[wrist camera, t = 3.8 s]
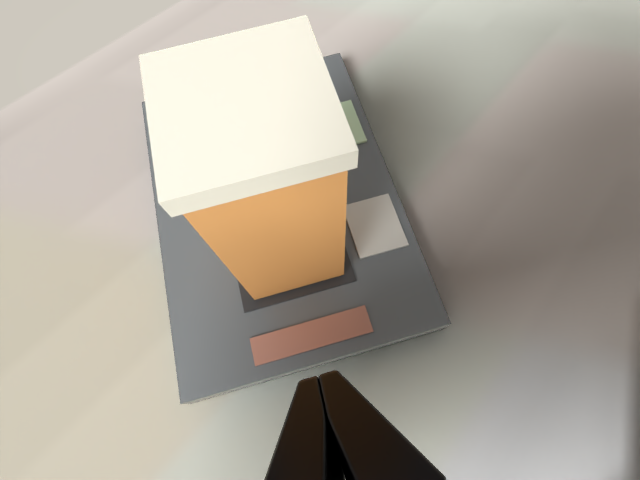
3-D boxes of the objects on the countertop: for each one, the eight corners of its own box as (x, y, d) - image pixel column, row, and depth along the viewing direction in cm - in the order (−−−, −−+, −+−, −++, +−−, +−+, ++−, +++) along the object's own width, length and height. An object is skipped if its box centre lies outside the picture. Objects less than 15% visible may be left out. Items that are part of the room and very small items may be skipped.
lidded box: (349, 277, 15) (358, 150, 7) (251, 304, 15) (158, 202, 7) (321, 193, 16) (306, 15, 9) (232, 217, 16) (138, 55, 9)
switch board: (444, 328, 15) (451, 322, 14) (190, 403, 14) (179, 403, 13) (339, 68, 20) (339, 51, 19) (151, 115, 20) (140, 100, 19)
